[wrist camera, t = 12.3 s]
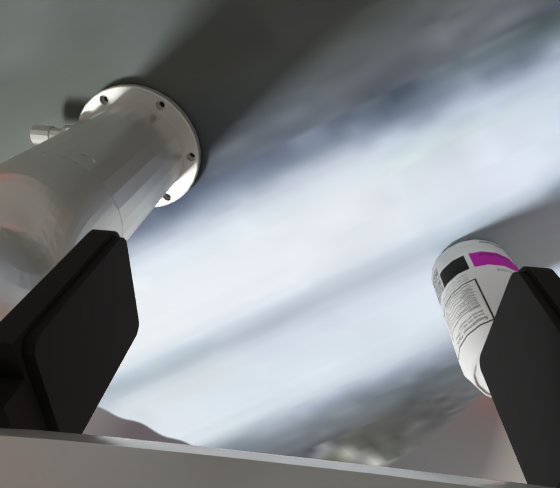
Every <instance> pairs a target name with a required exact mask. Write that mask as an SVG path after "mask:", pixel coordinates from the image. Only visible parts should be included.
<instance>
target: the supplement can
mask: <svg viewBox="0 0 560 488" xmlns="http://www.w3.org/2000/svg"><path fill="white" fill-rule="evenodd" d="M513 272H519V270H518V268H517V267H516V265H515V264H514V262H513V261H512V259H511V258H510V256H509V255H508V253H507V252H506V251H505V250H504V249H503V248H502V247H501V246H499V245H497V244H495V243H493V242H490V241H486V240H476V239H474V240H469V241H463V242H459V243H457V244H455V245H453V246H451V247H449V248H447V249H446V250H445V251H444V252H443V253H442V254H441V255H440V256H439V257H438V258H437V260H436V262H435V264H434V266H433V268H432V278H431V279H432V282H433V285H434V288H435V291H436V294H437V297H438V300H439V303H440V306H441V309H442V312H443V315H444V318H445V321H446V324H447V327H448V330H449V333H450V336H451V339H452V342H453V345H454V348H455V351H456V354H457V357H458V360H459V363H460V366H461V368H462V371H463V373H464V376H465V377H466V378H468V379H469V380H470V381H471V382H472V383H473V384H474V385H476V387H477V388H478V389H479V390H480V391H481V392H482V393H484V394H485V395H487V396H489V397H492V396H491V394H490V391H489V389H488V387H487V384H486V382H485V379H484V377H483V374H482V372H481V369H480V363H479V360H480V354H481V352H482V349H483V346H484V344H485V341H486V339H487V336H488V333H489V331H490V328H491V325H492V323H493V320H494V318H495V315H496V312H497V310H498V307H499V305H500V302H501V299H502V297H503V294H504V292H505V289H506V286H507V284H508V281H509V279H510V276H511V274H512V273H513Z"/></svg>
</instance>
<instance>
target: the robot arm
mask: <svg viewBox="0 0 560 488" xmlns="http://www.w3.org/2000/svg"><path fill="white" fill-rule="evenodd" d="M106 97H107V98H108V100H109V101H108V100H107V99H106ZM161 101H162V102H163V103H164V105H165V106H163V105H162V104H161ZM30 137H31V140H32V142H33V143H34V144H35V145H36V146H34V147H33V148H31V149H29V150H27V151H25V152H23V153H21V154H19V155H17V156H15V157H13V158H11V159H9V160H8V161H6V162H4V163H2V164H0V488H560V278H559V277H558V275H557V274H556V273H555V272H554V271H553V270H552V269H548V268H537V267H526V266H525V267H522V268H521V269H520V270H519V272H513V273H512V274H511V276H510V279H509V281H508V284H507V286H506V289H505V292H504V294H503V297H502V299H501V302H500V305H499V307H498V310H497V312H496V315H495V318H494V320H493V323H492V325H491V328H490V331H489V333H488V336H487V339H486V341H485V344H484V346H483V349H482V352H481V354H480V360H479V363H480V369H481V372H482V374H483V377H484V379H485V382H486V384H487V387H488V389H489V391H490V394H491V396H492V398H493V401H494V403H495V406H496V409H497V411H498V413H499V416H500V418H501V420H502V423H503V425H504V428H505V430H506V433H507V435H508V438H509V440H510V443H511V445H512V447H513V450H514V452H515V455H516V457H517V460H518V462H519V464H520V467H521V469H522V471H523V474H524V476H525V479H526V481H527V484H522V483H514V482H505V481H497V480H489V479H481V478H471V477H464V476H456V475H446V474H439V473H430V472H421V471H413V470H404V469H397V468H388V467H379V466H371V465H362V464H353V463H344V462H336V461H327V460H318V459H309V458H300V457H291V456H283V455H274V454H265V453H256V452H247V451H238V450H229V449H220V448H210V447H201V446H192V445H183V444H172V443H164V442H155V441H145V440H135V439H127V438H117V437H108V436H97V435H85V434H82V433H83V431H84V429H85V427H86V426H87V424H88V422H89V420H90V418H91V417H92V415H93V413H94V411H95V409H96V407H97V406H98V404H99V402H100V400H101V398H102V397H103V395H104V393H105V391H106V389H107V388H108V386H109V384H110V382H111V380H112V379H113V377H114V375H115V373H116V371H117V369H118V368H119V366H120V364H121V362H122V360H123V359H124V357H125V355H126V353H127V351H128V350H129V348H130V346H131V344H132V342H133V341H134V339H135V337H136V335H137V332H138V327H139V319H138V313H137V306H136V300H135V293H134V287H133V280H132V274H131V267H130V261H129V254H128V248H127V242H126V241H127V240H128V239H129V238H130V236H131V235H132V234H133V233H134V231H135V230H136V229H137V228H138V227H139V225H140V224H141V223H142V222H143V221H144V219H145V218H146V217H147V216H148V214H149V213H150V212H151V211H152V210H153V208H154V207H160V206H165V205H168V204H170V203H173V202H175V201H176V200H178V199H179V198H181V197H182V196H183V195H184V194H185V193H186V192H187V191H188V190H189V189H190V187H191V186H192V185H193V183H194V181H195V179H196V177H197V175H198V172H199V168H200V163H201V150H200V144H199V139H198V137H197V134H196V131H195V128H194V127H193V125H192V123H191V121H190V120H189V118H188V117H187V115H186V114H185V113H184V112H183V110H182V109H181V108H180V107H179V106H178V105H177V104H176V103H175V102H173V101H172V100H171V99H170V98H168V97H167V96H165V95H164V94H162V93H160V92H159V91H156V90H154V89H151V88H149V87H146V86H141V85H136V84H121V85H116V86H112V87H109V88H107V89H105V90H102V91H101V92H99V93H97V94H96V95H94V96H93V97H92V98H91V99H90V100H89V101H88V102H87V103H86V104H85V106H84V108H83V110H82V112H81V113H80V116H79V120H78V123H77V124H75V125H65V126H64V127H63V129H62V128H56V127H53V126H44V125H34V126H32V128H31V131H30ZM191 153H193V154H194V155H195V156H192V155H191ZM168 194H169V195H170V196H169V195H168Z"/></svg>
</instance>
